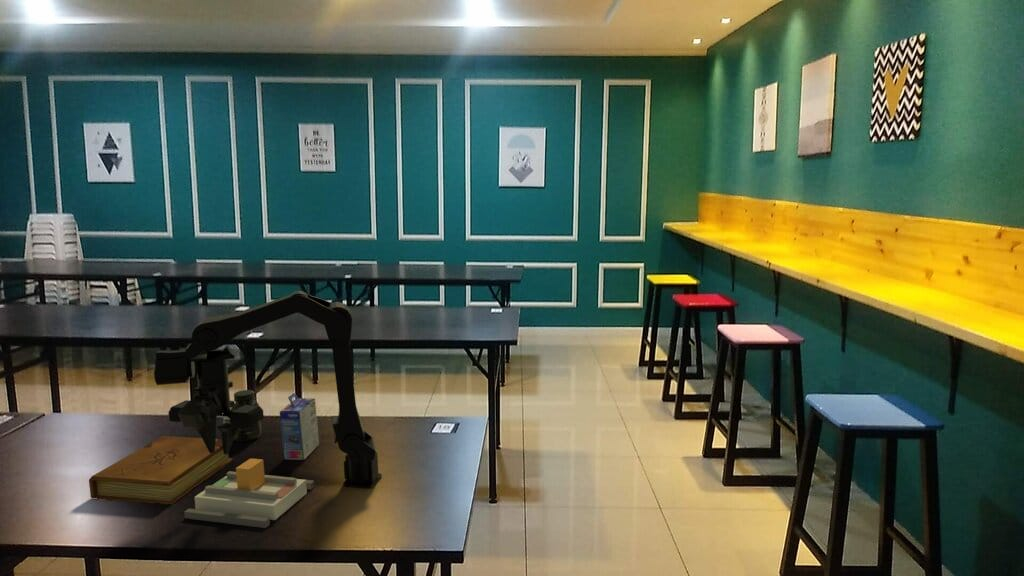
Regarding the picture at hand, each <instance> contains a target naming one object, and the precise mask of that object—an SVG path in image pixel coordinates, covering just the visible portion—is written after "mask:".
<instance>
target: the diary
mask: <svg viewBox="0 0 1024 576" xmlns="http://www.w3.org/2000/svg"><path fill="white" fill-rule="evenodd" d="M232 461H234V459H233V458H231V457H229V453H228V454H226V455H225V454H224V452H223V445H222V438H216V444H215V451H214V452H213V453H209V451H208V449H207V447H206V445H205V443H204V441H203V439H202V437H187V436H184V437H183V436H169V435H162V436H160V437H158V438H157V439H155V440H153V441H150V443H148V444H146V445H144V446H142V447H141V448H139V449H137V450H136V451H134V452H132V453H130V454H129V455H127V456H125V457H123V458H121V459H120V460H118V461H116V462H115V463H113V464H111V465H109V466H107V467H106V468H104V469H102V470H99V472H96V473H95V474H93V475H91V477H90V478H89V479H88V483H89V484H88V485H89V493H90V495H89V496H90V498H91V499H92V498H97V499H96V500H98V499H106V500H105V501H112V500H119V501H118V502H126V501H132V502H131V503H140V502H149V503H148V504H154V503H160V504H159V505H168V504H171V506H172V505H173V504H174V503H176V502H178V501H179V500H180V499H181V497H182V498H183V497H185V496H186V495H187V494H188V493H190V492H191V491H193V490H194V489H195V488H197V487H198V486H200V485H201V484H202V483H203V481H204V482H205V481H206V480H208V479H209V478H210V477H212V476H213V475H215V474H216V473H218V472H219V471H220V470H222V469H223V468H224V467H225V466H227V465H229V464H230V463H231V462H232ZM196 486H197V487H196ZM194 487H195V488H194ZM193 488H194V489H193ZM192 489H193V490H192ZM185 494H186V495H185Z"/></svg>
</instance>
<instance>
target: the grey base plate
mask: <svg viewBox="0 0 1024 576" xmlns="http://www.w3.org/2000/svg"><path fill="white" fill-rule="evenodd" d="M302 480H304V478H303V479H302ZM305 480H306V487H307V490H313V489H314V488H315V480H311V479H305ZM183 512H184V519H188V520H189V519H190V520H194V521H195V520H196V521H205V522H212V523H213V522H214V523H223V524H230V525H239V526H245V527H252V528H253V527H255V528H260V529H261V528H262V529H266V528H268V527H269V526H270V525H271V521H270V519H269V518H267V517H258V516H250V515H241V514H233V513H224V512H216V511H207V510H199V509H196V508H187V509H186V510H185V511H183Z"/></svg>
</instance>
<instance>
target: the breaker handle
mask: <svg viewBox="0 0 1024 576" xmlns="http://www.w3.org/2000/svg"><path fill="white" fill-rule="evenodd" d="M235 472H236V476H237V488H238V489H247V490H255V489H257V488H258V487H259V486H261V485H262V484H263V483H265V476H264V475H265V465H264V459H261V458H260V459H259V458H249V459H248V460H246V461H244V462H243V463H241V464H240V465H238V466H237V467H236V468H235Z"/></svg>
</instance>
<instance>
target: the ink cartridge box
mask: <svg viewBox="0 0 1024 576" xmlns="http://www.w3.org/2000/svg"><path fill="white" fill-rule="evenodd" d="M293 399H294V400H293ZM288 401H289V402H290V403H288V404H287V405H286V406H285V407H284V408H282V409H281V410H279V418H280V419H279V420H280V430H281V438H282V439H281V440H282V449H283V457H284V460H290V461H292V460H293V461H304V460H306V459H307V458H308V457H309V455H310V454H312V452H313V451H314V450H316V448H317V447H318V446H319V445H320V441H319V429H318V417H317V406H316V399H315V398H305V397H304V398H303V397H302V398H300V397H298V395H297V394H296V393H295V392H293V393H292V394H291V395H289V396H288Z"/></svg>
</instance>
